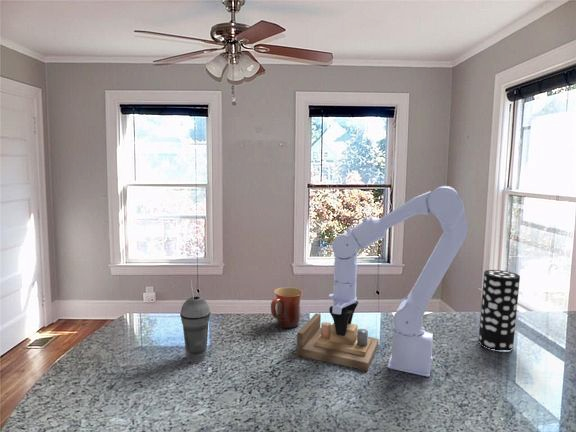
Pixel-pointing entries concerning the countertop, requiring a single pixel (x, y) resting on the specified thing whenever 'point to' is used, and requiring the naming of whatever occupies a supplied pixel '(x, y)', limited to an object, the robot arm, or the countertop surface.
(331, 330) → the wooden stand
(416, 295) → the robot arm
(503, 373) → the countertop surface
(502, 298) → the spotted tube
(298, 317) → the mug
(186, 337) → the beverage cup
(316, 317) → the light wood stepped block
